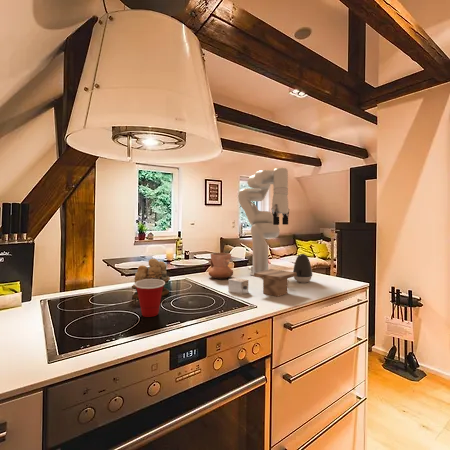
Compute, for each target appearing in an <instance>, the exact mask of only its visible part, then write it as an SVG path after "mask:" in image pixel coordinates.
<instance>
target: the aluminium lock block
mask: <svg viewBox="0 0 450 450" xmlns="http://www.w3.org/2000/svg"><path fill="white" fill-rule="evenodd" d="M227 279H228V292H229V293H231V294H236V295H245V294H248V293H249V280H248V279H244V278H238V277H233V278H227Z"/></svg>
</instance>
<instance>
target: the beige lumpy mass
mask: <svg viewBox="0 0 450 450" xmlns="http://www.w3.org/2000/svg"><path fill="white" fill-rule="evenodd" d="M148 266H149V267H147V266H146V265H143V264H142V265H139V266H138V268H137V271H136V272H135V273H134V279H133V282H134V283H135V282H137V281H140V280H144V279H159V280H163V281H165V285H166V284H168V283H169V282H170V280H171V277H170V276H168V275H167V273H168V272H167V270H166V269H167V265H166V263H165V262H164V261H162V260H161V261H159V260H158V259H156V258H150V259H149V260H148ZM165 285H164V286H163V290H162V295H161V298H164V297H167V296H168V295H170V290H169V289H168V288H166V287H165ZM131 289H133V290H136V291H135V292H134V293H133V294H132V299H134V300H136V301H139V297H138V293H137V289H136V286H135V284H132V285H131Z"/></svg>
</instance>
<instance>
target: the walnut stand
mask: <svg viewBox="0 0 450 450" xmlns="http://www.w3.org/2000/svg"><path fill="white" fill-rule="evenodd" d="M294 276H297V273H296V272H293V271H288V270H280V269H274V268H268V270H265V271H261V272H257V273H254V276H253V277H256V278H262V280H263V282H262V286H263V287H262V288H263V291H262V293H263V294H264V295H269V296H274V297H280V296H283V295H286V294H288V279H291V278H294Z"/></svg>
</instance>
